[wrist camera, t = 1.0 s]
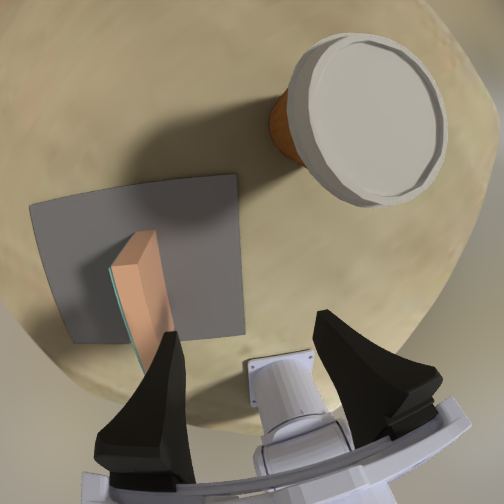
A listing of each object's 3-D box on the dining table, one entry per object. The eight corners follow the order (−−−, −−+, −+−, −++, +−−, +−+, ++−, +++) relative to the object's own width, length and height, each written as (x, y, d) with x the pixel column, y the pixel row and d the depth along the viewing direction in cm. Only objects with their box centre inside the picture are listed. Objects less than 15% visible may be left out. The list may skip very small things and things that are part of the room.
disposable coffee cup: (275, 196, 23) (339, 246, 12) (231, 94, 19) (259, 42, 8) (365, 159, 23) (464, 180, 12) (330, 65, 19) (418, 24, 8)
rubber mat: (245, 332, 28) (245, 334, 27) (74, 341, 25) (73, 343, 25) (236, 173, 22) (236, 174, 21) (31, 204, 19) (29, 205, 19)
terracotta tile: (174, 326, 26) (169, 377, 19) (154, 327, 25) (144, 378, 19) (155, 229, 22) (137, 264, 15) (132, 232, 22) (106, 266, 15)
